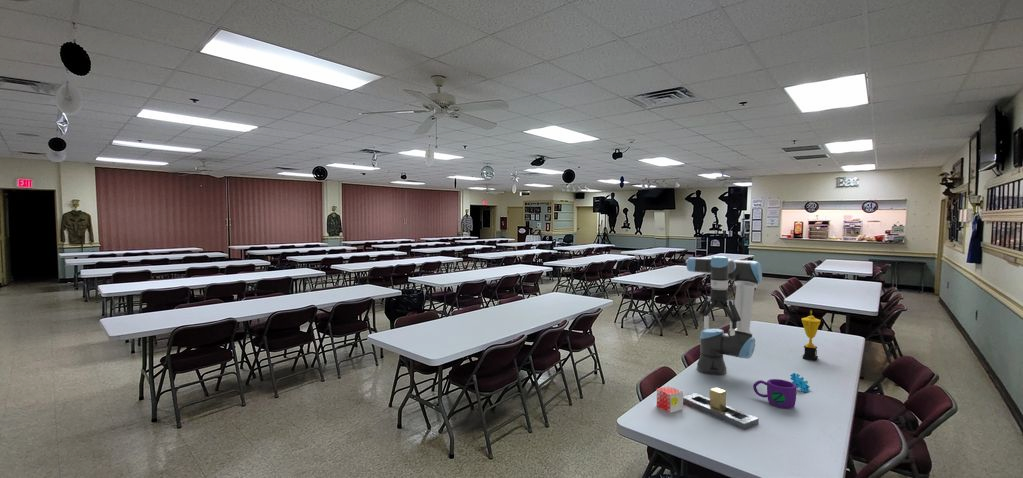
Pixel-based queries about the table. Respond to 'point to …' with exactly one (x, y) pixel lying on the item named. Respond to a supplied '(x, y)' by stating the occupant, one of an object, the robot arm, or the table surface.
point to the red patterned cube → (670, 399)
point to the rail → (728, 416)
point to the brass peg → (718, 399)
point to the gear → (800, 382)
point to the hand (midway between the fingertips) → (719, 332)
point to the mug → (779, 392)
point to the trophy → (810, 336)
